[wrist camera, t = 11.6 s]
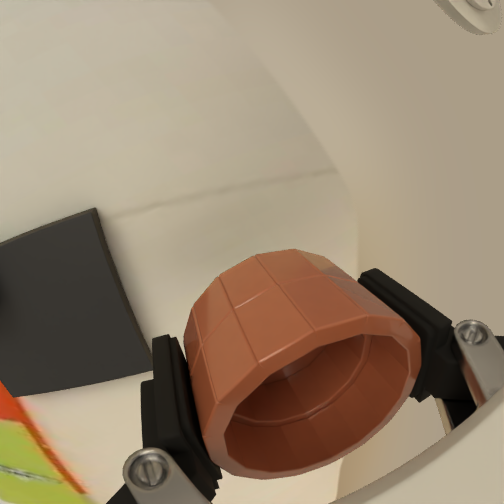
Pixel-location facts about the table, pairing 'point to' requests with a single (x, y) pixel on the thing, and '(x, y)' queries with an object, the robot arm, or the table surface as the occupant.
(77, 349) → the scale
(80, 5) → the table surface
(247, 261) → the small bowl
